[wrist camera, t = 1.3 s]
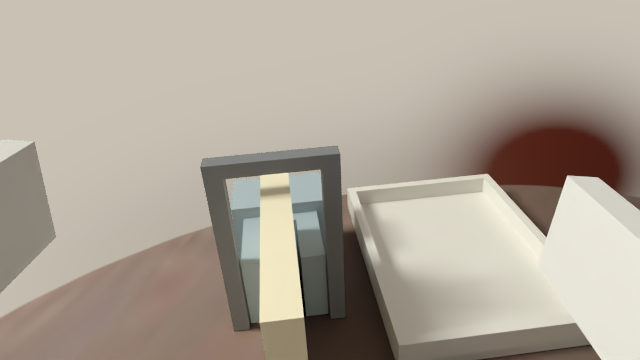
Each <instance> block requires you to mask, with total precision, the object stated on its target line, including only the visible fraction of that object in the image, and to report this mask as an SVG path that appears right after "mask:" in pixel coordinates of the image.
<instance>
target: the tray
mask: <svg viewBox="0 0 640 360" xmlns="http://www.w3.org/2000/svg"><path fill="white" fill-rule="evenodd" d="M347 191H348V192H347V193H348V210H349V213H350V216H351V220H352V223H353V226H354V229H355V233H356V236H357V239H358V242H359V246H360V249H361V252H362V255H363V259H364V262H365V265H366V268H367V272H368V275H369V278H370V281H371V284H372V288H373V291H374V294H375V297H376V301H377V304H378V307H379V310H380V314H381V317H382V320H383V323H384V327H385V330H386V333H387V336H388V340H389V343H390V346H391V349H392V352H393V356H394V359H395V360H479V359H487V358H494V357H502V356H509V355H516V354H524V353H531V352H539V351H546V350H554V349H561V348H569V347H576V346H583V345H591V344H590V342H589V341H588V339H587V338H586V337H585V335H584V334H583V332H582V331H581V329H580V328H579V326H578V325H577V323H576V322H575V321H574V319H573V318H572V316H571V315H570V313H569V312H568V310H567V309H566V308H565V306H564V305H563V303H562V302H561V300H560V299H559V297H558V296H557V294H556V293H555V292H554V290H553V289H552V287H551V286H550V284H549V283H548V281H547V280H546V278H545V277H544V276H543V274H542V273H541V271H540V270H539V268H538V267H537V265H538V262H539V259H540V256H541V253H542V250H543V247H544V244H545V241H546V237H545V235H544V234H543V233H542V232H541V231H540V230H539V229H538V228H537V227H536V226H535V225H534V224H533V222H532V221H531V220H530V219H529V218H528V217H527V216H526V215H525V214H524V213H523V212H522V211H521V209H520V208H519V207H518V206H517V205H516V204H515V203H514V202H513V201H512V200H511V199H510V197H509V196H508V195H507V194H506V193H505V192H504V191H503V190H502V189H501V188H500V187H499V186H498V184H496V182H495V181H494V180H493V179H492V178H491V177H490V176H489V175H488V174H483V175H473V176H463V177H453V178H445V179H434V180H424V181H415V182H405V183H396V184H386V185H377V186H367V187H357V188H348V189H347Z"/></svg>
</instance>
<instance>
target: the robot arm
mask: <svg viewBox="0 0 640 360" xmlns="http://www.w3.org/2000/svg"><path fill="white" fill-rule="evenodd" d="M55 237H56V235H55V231H54V226H53V222H52V217H51V213H50V209H49V204H48V200H47V195H46V191H45V186H44V182H43V178H42V173H41V169H40V164H39V160H38V156H37V151H36V147H35V142H33V141H18V140H1V141H0V293H1V292H2V291H3V290H4V289H5V288H6V287H7V286H8V285H9V284H10V283H11V282H12V281H13V280H14V279H15V278H16V277H17V276H18V275H19V273H21V272H22V271H23V270H24V268H25V267H27V266H28V265H29V264H30V263H31V262H32V260H33V259H35V257H36V256H38V255H39V254H40V252H41V251H42V250H43V249H44V248H45V247H46V246H47V245H48V244H49V243H50V242H51V241H52V240H53V239H54V238H55ZM537 267H538V268H539V270H540V271H541V273H542V274H543V276H544V277H545V278H546V280H547V281H548V283H549V284H550V286H551V287H552V289H553V290H554V292H555V293H556V294H557V296H558V297H559V299H560V300H561V302H562V303H563V305H564V306H565V308H566V309H567V310H568V312H569V313H570V315H571V316H572V318H573V319H574V321H575V322H576V323H577V325H578V326H579V328H580V329H581V331H582V332H583V334H584V335H585V337H586V338H587V339H588V341H589V342H590V344H591V345H592V347H593V348H594V350H595V351H596V353H597V354H598V355H599V357H600V358H601V360H640V211H639V210H638V209H637V208H636V207H634V206H633V205H632V204H631V203H629V202H628V201H627V200H626V199H624V198H623V197H622V196H620V195H619V194H618V193H617V192H615V191H614V190H613V189H612V188H610V187H609V186H608V185H607V184H605V183H604V182H603V181H602V180H600V179H599V178H596V177H579V176H567V178H566V181H565V185H564V187H563V190H562V193H561V196H560V199H559V202H558V205H557V208H556V211H555V214H554V217H553V220H552V223H551V226H550V229H549V232H548V235H547V238H546V241H545V244H544V247H543V250H542V253H541V256H540V259H539V262H538V265H537Z"/></svg>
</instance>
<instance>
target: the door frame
mask: <svg viewBox="0 0 640 360" xmlns="http://www.w3.org/2000/svg"><path fill="white" fill-rule="evenodd" d="M319 169H321V175H320V172H316V173H306V174H296V175H288V176H289V185H290V194H291V203H292V212H293V222H294V231H295V240H296V249H297V258H298V267H299V275H302V284H303V292H304V301H305V310H306V316H314V315H322V314H329V313H328V303H329V312H330V318H331V319H336V318H344V317H346V311H345V282H344V253H343V224H342V195H341V165H340V152H339V149H338V146H328V147H319V148H309V149H297V150H287V151H277V152H266V153H257V154H246V155H235V156H225V157H215V158H204V159H202V163H201V172H202V177H203V182H204V187H205V191H206V197H207V201H208V206H209V211H210V216H211V221H212V226H213V230H214V235H215V240H216V245H217V250H218V255H219V259H220V264H221V269H222V274H223V279H224V284H225V288H226V293H227V298H228V303H229V308H230V312H231V317H232V322H233V327H234V331H240V330H248V329H250V319H251V323H257V322H259V313H260V178H257V179H246V180H237V181H234V188H233V197H232V206H231V208H230V203H229V197H228V191H227V186H226V181H225V179H229V178H239V177H249V176H258V175H269V174H279V173H289V172H299V171H309V170H319ZM231 212H232V214H231ZM232 218H233V219H232ZM233 223H234V225H233ZM234 229H235V231H234ZM235 235H236V236H235ZM236 240H237V242H236ZM237 246H238V247H237ZM238 251H239V253H238ZM239 257H240V258H239ZM240 263H241V264H240ZM241 269H242V270H241ZM326 269H327V280H326ZM243 280H244V281H243ZM327 286H328V296H327ZM245 291H246V292H245ZM246 297H247V298H246ZM247 302H248V303H247ZM248 308H249V309H248Z"/></svg>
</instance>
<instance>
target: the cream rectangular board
mask: <svg viewBox="0 0 640 360" xmlns="http://www.w3.org/2000/svg"><path fill="white" fill-rule="evenodd" d="M259 323H260V329H261V335H262V341H263V347H264V353H265V359H266V360H308V354H307V344H306V333H305V323H304V313H303V304H302V295H301V286H300V276H299V267H298V258H297V249H296V240H295V231H294V222H293V212H292V203H291V194H290V185H289V176H288V173H279V174H269V175H260V313H259Z"/></svg>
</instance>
